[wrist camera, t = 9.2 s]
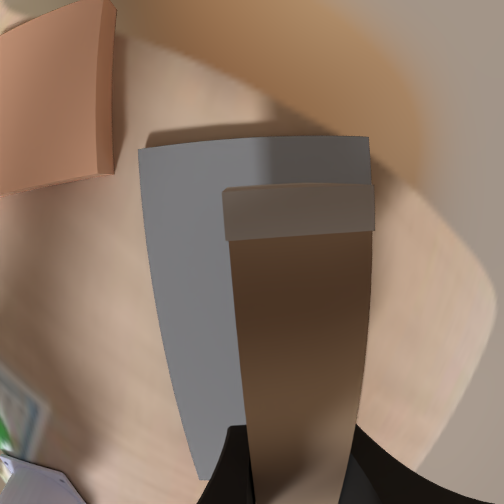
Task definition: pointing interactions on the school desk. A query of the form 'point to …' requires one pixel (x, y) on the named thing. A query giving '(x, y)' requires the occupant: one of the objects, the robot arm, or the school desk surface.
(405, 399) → the school desk surface
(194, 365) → the mat
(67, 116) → the tile
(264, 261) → the brown block
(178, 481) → the school desk surface
